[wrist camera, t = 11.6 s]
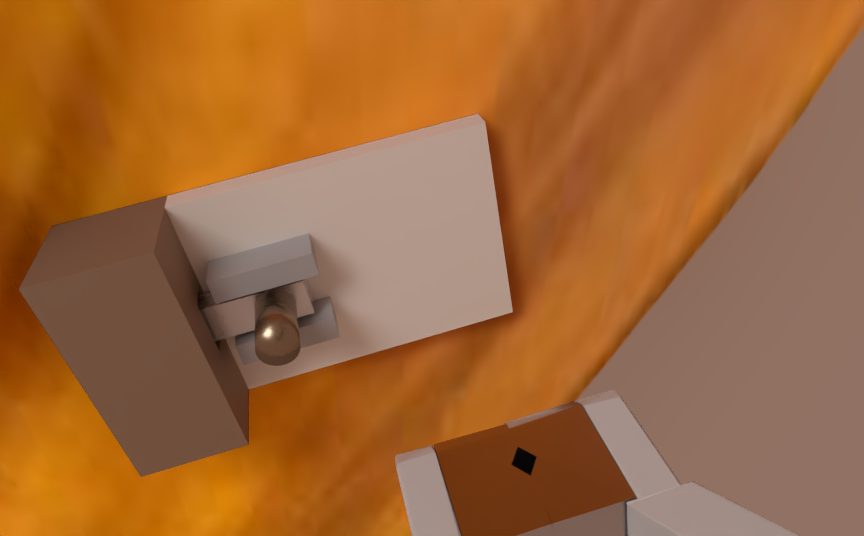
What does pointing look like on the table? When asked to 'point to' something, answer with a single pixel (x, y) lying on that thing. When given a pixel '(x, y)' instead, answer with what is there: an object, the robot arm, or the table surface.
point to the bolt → (262, 319)
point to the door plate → (269, 280)
